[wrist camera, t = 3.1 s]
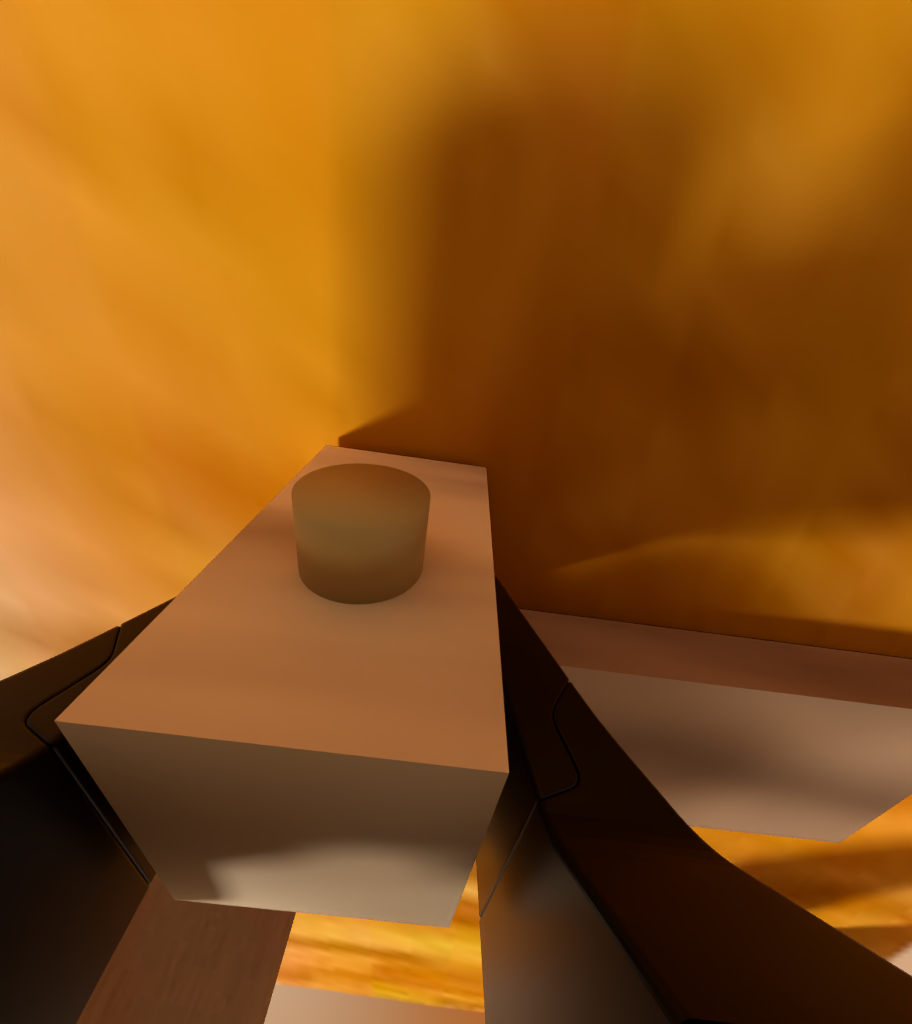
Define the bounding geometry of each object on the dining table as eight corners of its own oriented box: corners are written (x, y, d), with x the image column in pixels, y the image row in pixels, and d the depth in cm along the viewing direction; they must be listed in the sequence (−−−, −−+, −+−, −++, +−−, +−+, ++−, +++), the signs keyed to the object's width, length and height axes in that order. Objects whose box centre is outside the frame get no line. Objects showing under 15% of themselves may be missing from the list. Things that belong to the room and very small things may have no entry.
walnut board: (800, 785, 16) (839, 842, 15) (267, 723, 16) (241, 775, 14) (941, 662, 12) (1017, 722, 11) (237, 572, 12) (196, 620, 10)
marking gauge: (435, 740, 16) (410, 1026, 9) (337, 729, 15) (249, 1011, 9) (495, 420, 9) (542, 690, 3) (324, 395, 9) (-12, 621, 3)
